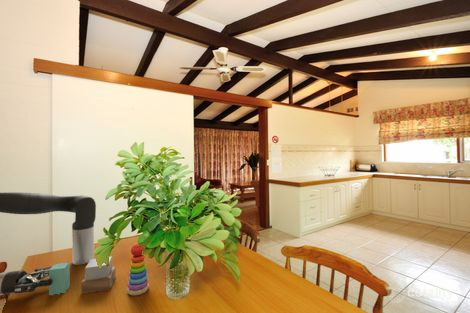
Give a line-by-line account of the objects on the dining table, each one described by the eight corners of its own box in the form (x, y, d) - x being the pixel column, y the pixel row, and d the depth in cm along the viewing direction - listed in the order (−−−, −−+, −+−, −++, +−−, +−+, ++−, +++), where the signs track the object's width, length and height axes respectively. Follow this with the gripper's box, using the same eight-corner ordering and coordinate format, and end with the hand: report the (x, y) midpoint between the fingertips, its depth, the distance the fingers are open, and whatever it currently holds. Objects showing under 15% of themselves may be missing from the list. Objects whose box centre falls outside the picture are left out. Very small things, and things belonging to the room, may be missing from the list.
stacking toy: (153, 288, 92) (152, 242, 92) (135, 299, 85) (135, 249, 85) (140, 282, 96) (140, 238, 96) (122, 292, 89) (122, 245, 89)
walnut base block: (89, 281, 98) (89, 269, 98) (115, 277, 101) (115, 266, 101) (81, 294, 89) (81, 282, 89) (110, 290, 91) (109, 277, 91)
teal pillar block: (55, 288, 92) (55, 264, 92) (69, 286, 94) (69, 262, 94) (49, 295, 88) (48, 269, 88) (64, 293, 89) (64, 268, 89)
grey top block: (90, 270, 97) (90, 259, 97) (111, 267, 100) (111, 256, 100) (85, 280, 90) (85, 267, 90) (108, 277, 92) (108, 264, 92)
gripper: (-8, 283, 79) (48, 275, 84) (18, 264, 93) (65, 258, 97) (-8, 304, 79) (48, 296, 84) (18, 282, 93) (65, 276, 97)
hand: (57, 276), depth 90 cm, fingers open, 8 cm apart
